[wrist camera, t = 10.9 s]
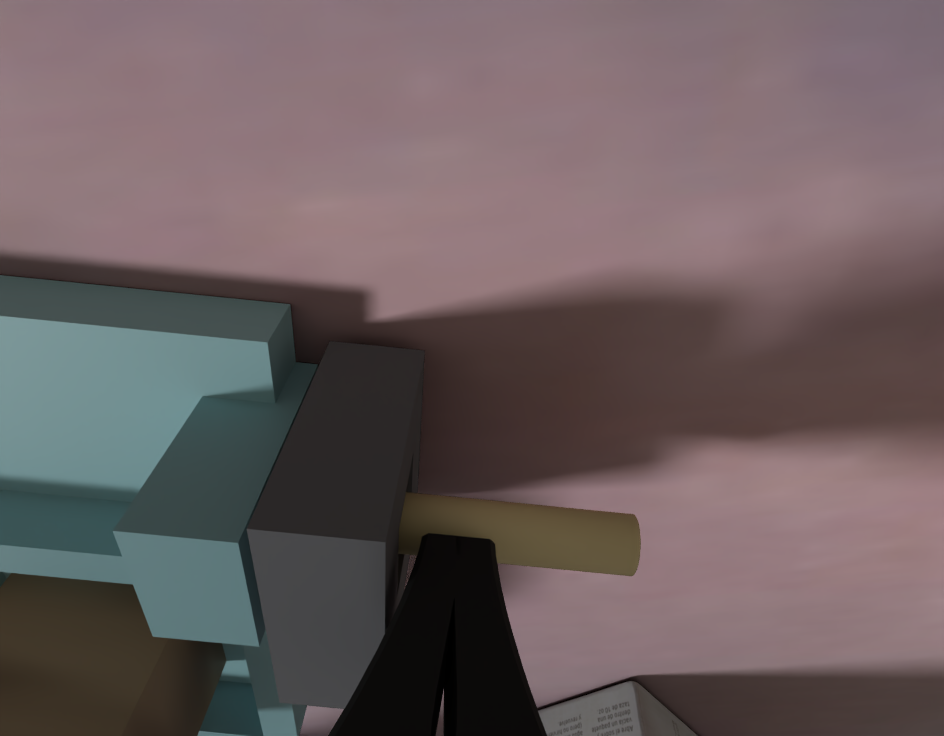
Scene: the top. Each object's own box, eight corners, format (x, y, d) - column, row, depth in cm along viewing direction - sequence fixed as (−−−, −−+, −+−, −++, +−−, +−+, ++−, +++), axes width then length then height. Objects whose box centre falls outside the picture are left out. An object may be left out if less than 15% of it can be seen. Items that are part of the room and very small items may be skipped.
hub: (416, 511, 16) (384, 712, 12) (339, 504, 16) (279, 702, 12) (424, 350, 13) (385, 542, 9) (330, 341, 13) (246, 528, 9)
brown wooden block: (226, 660, 19) (125, 921, 14) (77, 645, 19) (-79, 902, 14) (202, 567, 16) (66, 848, 11) (28, 550, 16) (-186, 824, 11)
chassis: (542, 681, 21) (549, 859, 17) (61, 635, 21) (-46, 804, 17) (642, 339, 13) (701, 522, 9) (-137, 261, 13) (-436, 411, 9)
